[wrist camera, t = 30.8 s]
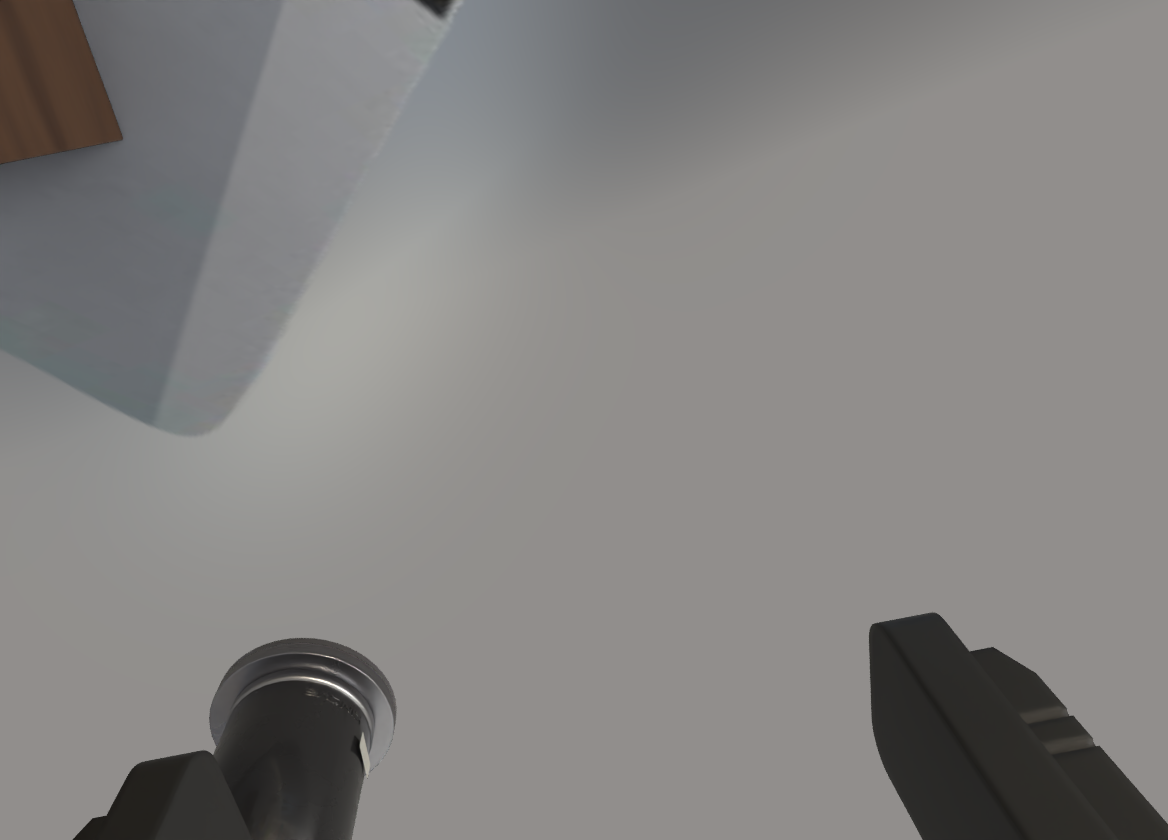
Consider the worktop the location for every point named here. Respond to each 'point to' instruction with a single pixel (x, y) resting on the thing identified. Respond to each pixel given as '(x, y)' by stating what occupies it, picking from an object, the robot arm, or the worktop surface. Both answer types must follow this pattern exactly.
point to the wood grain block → (49, 83)
